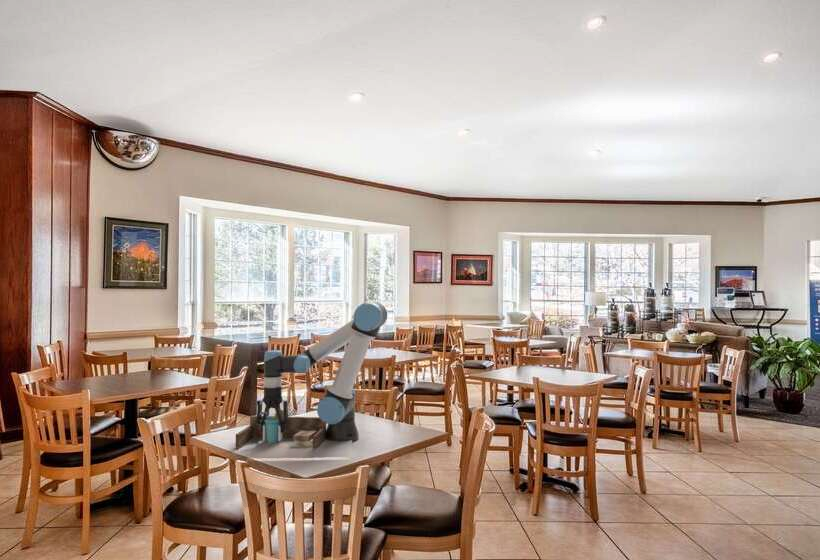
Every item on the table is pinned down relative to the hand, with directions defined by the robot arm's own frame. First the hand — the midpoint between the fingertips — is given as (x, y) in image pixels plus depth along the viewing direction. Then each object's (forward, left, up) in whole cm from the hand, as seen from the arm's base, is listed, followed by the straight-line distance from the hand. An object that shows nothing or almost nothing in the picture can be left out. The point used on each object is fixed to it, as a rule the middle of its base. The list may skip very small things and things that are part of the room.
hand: (272, 439), depth 234 cm
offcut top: (-15, 0, +1) cm, 15 cm away
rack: (-4, -1, -2) cm, 5 cm away
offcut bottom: (-14, 0, -3) cm, 14 cm away
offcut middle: (-14, 0, -1) cm, 14 cm away
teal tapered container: (0, 0, -2) cm, 2 cm away
